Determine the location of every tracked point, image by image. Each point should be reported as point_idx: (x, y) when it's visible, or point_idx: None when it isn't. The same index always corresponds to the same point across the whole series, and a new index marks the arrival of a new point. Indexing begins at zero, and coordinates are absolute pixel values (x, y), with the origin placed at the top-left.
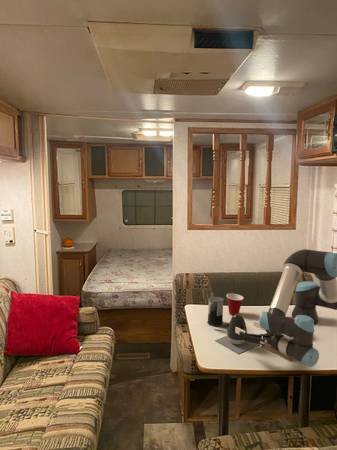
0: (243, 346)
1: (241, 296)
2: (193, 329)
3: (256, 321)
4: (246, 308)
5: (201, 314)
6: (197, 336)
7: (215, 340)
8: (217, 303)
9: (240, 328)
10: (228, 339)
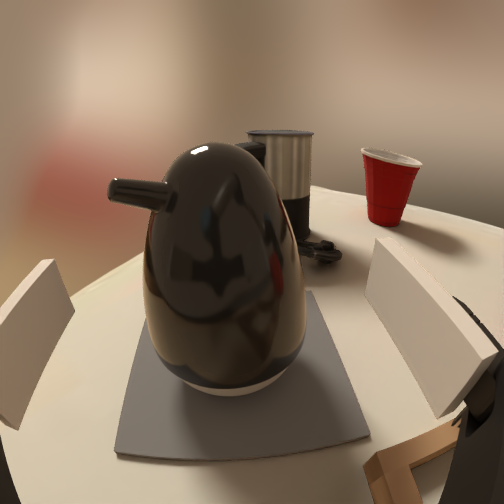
0: (226, 416)
1: (417, 162)
2: None
3: (403, 255)
4: (434, 216)
5: None
6: (136, 263)
7: None
8: (266, 140)
9: (172, 288)
10: None
